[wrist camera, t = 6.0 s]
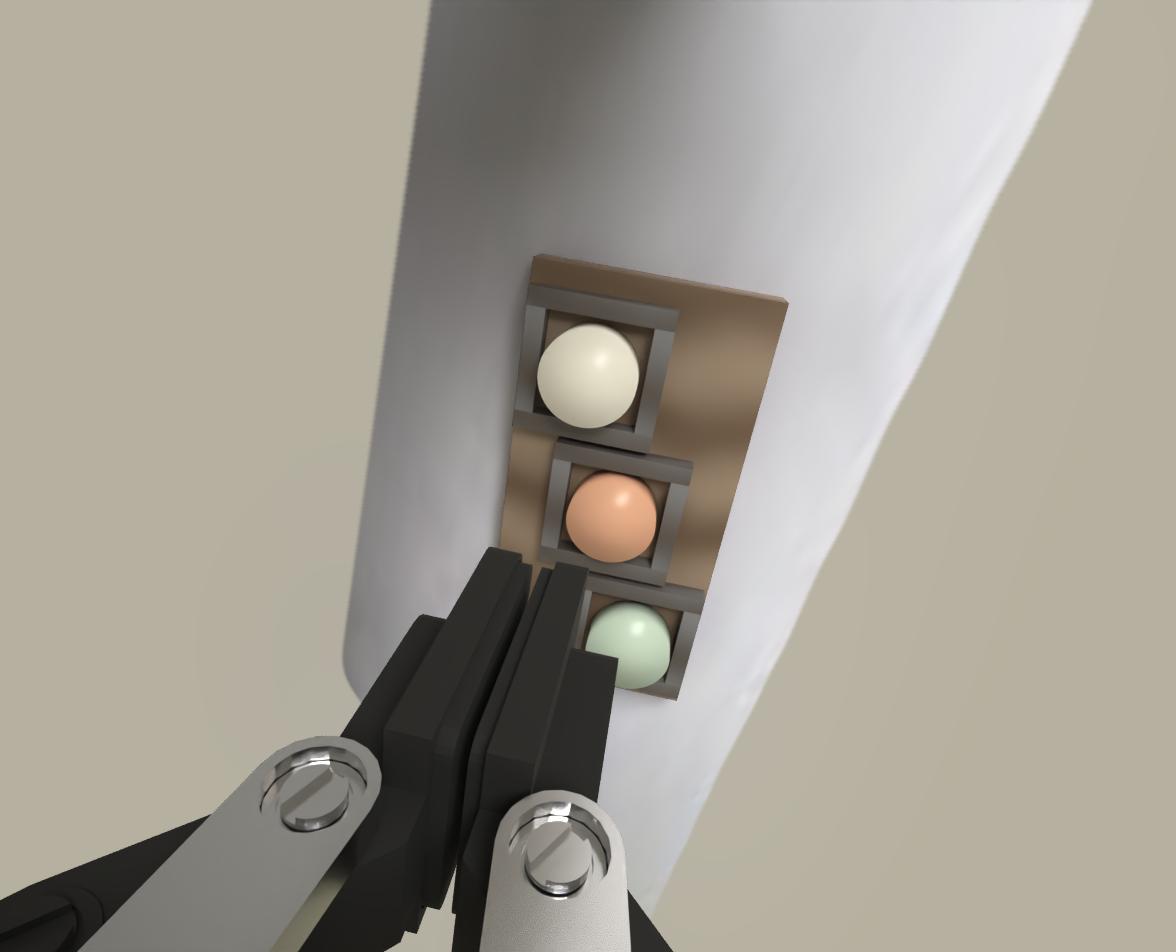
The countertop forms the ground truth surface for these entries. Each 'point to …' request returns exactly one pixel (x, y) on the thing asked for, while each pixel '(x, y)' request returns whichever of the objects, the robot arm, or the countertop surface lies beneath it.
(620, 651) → the sage button
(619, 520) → the terracotta button
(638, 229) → the countertop surface
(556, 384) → the cream button
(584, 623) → the button panel
